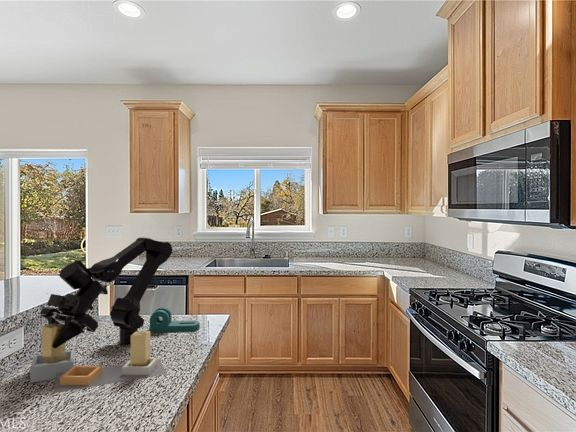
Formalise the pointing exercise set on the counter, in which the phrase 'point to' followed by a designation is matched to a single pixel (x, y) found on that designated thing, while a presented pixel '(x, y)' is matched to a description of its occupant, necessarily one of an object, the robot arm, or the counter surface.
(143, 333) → the block
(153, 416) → the counter surface
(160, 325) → the bracket
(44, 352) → the block
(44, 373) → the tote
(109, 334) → the counter surface
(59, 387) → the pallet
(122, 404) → the counter surface
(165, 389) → the counter surface
